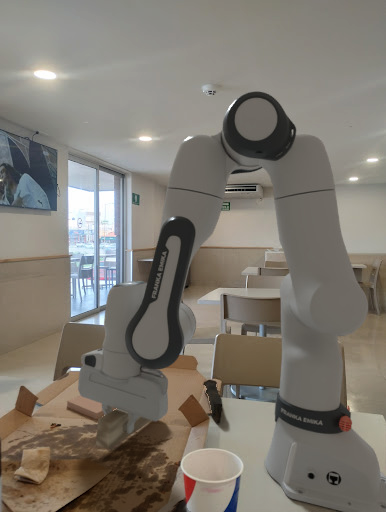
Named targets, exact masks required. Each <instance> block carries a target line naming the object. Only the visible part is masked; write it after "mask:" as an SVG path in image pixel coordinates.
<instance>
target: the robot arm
mask: <svg viewBox="0 0 386 512" xmlns="http://www.w3.org/2000/svg"><path fill="white" fill-rule="evenodd" d="M262 169H264V170H265V172H267V174H268V176H269V178H270V183H271V185H272V193H273V201H274V202H273V203H274V209H275V217H276V224H277V233H278V239H279V244H280V245H281V248H282V251H283V253H284V258H285V262H286V265H287V267H288V268H287V269H288V273H287V274H286V275H285V276H284V277H283V279H282V280H281V283H280V286H279V296H280V331H281V332H280V333H281V349H282V350H281V367H280V380H279V390H278V392H277V393H276V397H275V401H274V402H275V404H274V422H275V424H274V431H273V436H272V438H271V442H270V446H269V449H268V451H267V454H266V457H265V460H264V466H265V469H266V471H267V472H268V474H269V475H270V476H271V478H272V479H274V481H276V482H277V483H278V484H279V485H280V486H281V488H282V490H283V491H284V493H285V495H286V496H287V497H288V498H290V499H292V500H296V501H299V502H304V503H307V504H312V505H316V506H320V507H322V508H323V507H324V508H326V509H327V508H328V509H331V510H335V511H336V510H337V511H340V512H386V475H385V474H384V473H383V472H382V471H381V467H380V463H379V460H378V456H377V453H376V451H375V449H374V448H373V447H372V446H371V445H370V444H369V443H368V442H367V441H366V440H365V439H364V438H363V437H361V436H360V435H359V434H358V432H356V430H354V428H352V425H353V420H352V412H351V411H350V410H351V408H350V405H347V407H346V406H345V405H344V404H342V402H341V394H342V393H341V391H342V380H343V369H344V361H343V357H342V355H341V350H340V347H339V346H340V345H339V338H338V337H345V336H348V335H351V334H353V333H355V332H356V331H357V330H359V328H361V327H362V325H363V324H364V322H365V321H366V319H367V316H368V312H369V302H368V298H367V295H366V293H365V291H364V290H363V288H362V287H361V286H360V284H359V282H358V280H357V277H356V274H355V272H354V268H353V265H352V263H351V260H350V256H349V253H348V251H347V248H346V245H345V242H344V238H343V235H342V229H341V223H340V216H339V209H338V201H337V200H338V199H337V195H336V192H337V191H336V185H335V179H334V175H333V170H332V165H331V162H330V159H329V155H328V152H327V149H326V147H325V144H324V142H323V140H321V139H320V138H318V137H317V136H315V135H313V134H305V133H304V134H297V126H296V124H294V123H293V121H292V120H291V119H290V118H289V116H288V115H287V114H286V112H285V110H284V108H283V106H282V105H281V104H280V102H279V101H278V100H277V99H276V98H275V97H274V96H272V95H271V94H269V93H267V92H264V91H250V92H249V91H248V92H247V93H246V92H245V93H244V94H242V95H240V96H239V97H237V98H236V99H235V100H233V102H232V103H231V104H230V105H229V107H228V109H227V110H226V112H225V114H224V116H223V121H222V129H221V130H220V132H218V133H216V134H214V135H207V134H193V135H191V136H188V137H187V138H185V139H184V140H183V141H182V142H181V143H180V145H179V148H178V151H177V153H176V155H175V158H174V160H173V164H172V166H171V170H170V173H169V178H168V182H167V186H166V191H165V197H164V203H163V208H162V217H161V223H160V228H159V233H158V239H157V243H156V247H155V251H154V254H153V258H152V262H151V267H150V269H149V270H150V271H149V275H148V279H147V282H146V281H144V280H132V281H126V282H119V283H117V284H116V283H115V284H114V285H113V286H111V287H110V289H109V290H108V294H107V298H106V302H105V303H106V304H105V311H104V317H103V318H104V320H103V327H104V332H105V335H104V339H103V341H102V342H103V343H102V347H101V348H98V349H95V350H92V351H89V352H86V353H84V354H82V355H81V356H80V362H81V365H82V366H81V367H80V369H79V370H80V371H79V374H78V375H79V376H78V381H77V382H78V383H77V384H78V385H77V386H78V387H77V390H78V393H79V396H80V395H81V396H82V397H85V398H87V399H90V400H93V401H96V402H99V403H102V410H103V413H104V415H106V414H108V413H110V412H112V411H113V410H112V407H114V408H117V409H120V410H123V411H125V412H128V417H129V418H130V420H128V421H127V422H125V423H123V432H126V433H129V434H130V433H131V432H133V430H134V423H135V421H136V420H137V419H138V417H139V416H140V417H143V418H146V419H149V420H152V421H151V422H158V421H159V420H161V419H162V418H164V417H165V415H167V414H168V412H169V400H168V399H169V398H168V388H169V379H168V377H167V376H166V375H165V374H164V373H163V371H162V370H163V369H166V368H168V367H170V366H172V365H174V363H175V362H176V361H177V360H178V359H179V356H180V355H181V353H182V352H183V350H184V348H185V347H186V346H187V345H188V343H189V342H190V340H191V339H192V338H193V336H194V335H195V332H196V328H197V320H196V319H197V318H196V315H195V313H194V312H193V311H192V309H191V308H190V307H189V306H188V305H187V304H185V303H184V302H182V299H183V295H184V291H185V287H186V283H187V277H188V274H189V269H190V266H191V264H192V262H193V259H194V257H195V255H196V254H197V252H198V250H199V249H200V248H201V247H202V246H203V245H204V244H205V243H206V241H207V240H209V239H210V237H211V236H212V235H213V234H214V232H215V229H216V226H217V224H218V222H219V219H220V216H221V212H222V209H223V203H224V198H225V193H226V189H227V183H228V182H229V178H230V176H231V175H236V174H237V175H239V174H245V173H246V174H248V173H254V172H256V171H259V170H262Z"/></svg>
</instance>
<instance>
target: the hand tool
mask: <svg viewBox="0 0 386 512" xmlns="http://www.w3.org/2000/svg"><path fill="white" fill-rule="evenodd" d="M202 384H203V385H205V386H206V388H207V390H206V393H207V394H208V396H209V401H210V405H211V410H212V414H211V413H210V416H211V418H212V419H213V421H214V422H215V423H216V425H217V424H218V425H219V424H220V423H221V419H222V415H223V414H222V413H223V400H222V399H223V398H222V397H220V394H219V390H217V389H218V386H217V387H216V384H217V385H218V382H217V381H216V380H213V379H208V380H205V381H204V382H203V383H202ZM203 385H202V386H203Z"/></svg>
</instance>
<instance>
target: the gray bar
mask: <svg viewBox="0 0 386 512" xmlns="http://www.w3.org/2000/svg"><path fill="white" fill-rule="evenodd" d="M128 420H130V418H129V417H128V412H125V411H123V410H120V409H116V410H114V411H112V412H110V413H108V414H106V415H105V416H103V417H101V418H99V419H97V427H96V428H97V429H96V430H97V431H96V439H95V440H96V441H95V442H96V443H95V445H96V446H98V447H100V448H103V449H106V450H110V449H111V448H113V447H114V446H116V445H117V444H119V443H120V442H122V441H123V440H125V439H127V438H128V437H129V436H131V435H133V434H135V433H136V432H137V431H138V430H141V429H142V428H144V427H145V426H146V425H147V424H149V423H150V422H153V421H152V420H149V419H146V418H143V417H140V416H139V417H138V419H137V420H136V421H135V423H134V430H133V432H131V433H130V434H129V433H126V432H123V423H125V422H127V421H128Z"/></svg>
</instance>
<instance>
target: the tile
mask: <svg viewBox="0 0 386 512" xmlns="http://www.w3.org/2000/svg"><path fill="white" fill-rule="evenodd" d="M66 403H67V404H66V408H68V409H70V410H72V411H75V412H78V413H81V414H82V415H85V416H87V417H89V418H92V419H94V420H97V421H98V419H99V418H101V417H102V416H104V413H103V410H102V403H99V402H96V401H93V400H90V399H87V398H85V397H82V396H81V395H80V394H79V396H76V397H74V398H71V399H69V400H67V401H66ZM114 409H116V408H114V407H112V410H114Z"/></svg>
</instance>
